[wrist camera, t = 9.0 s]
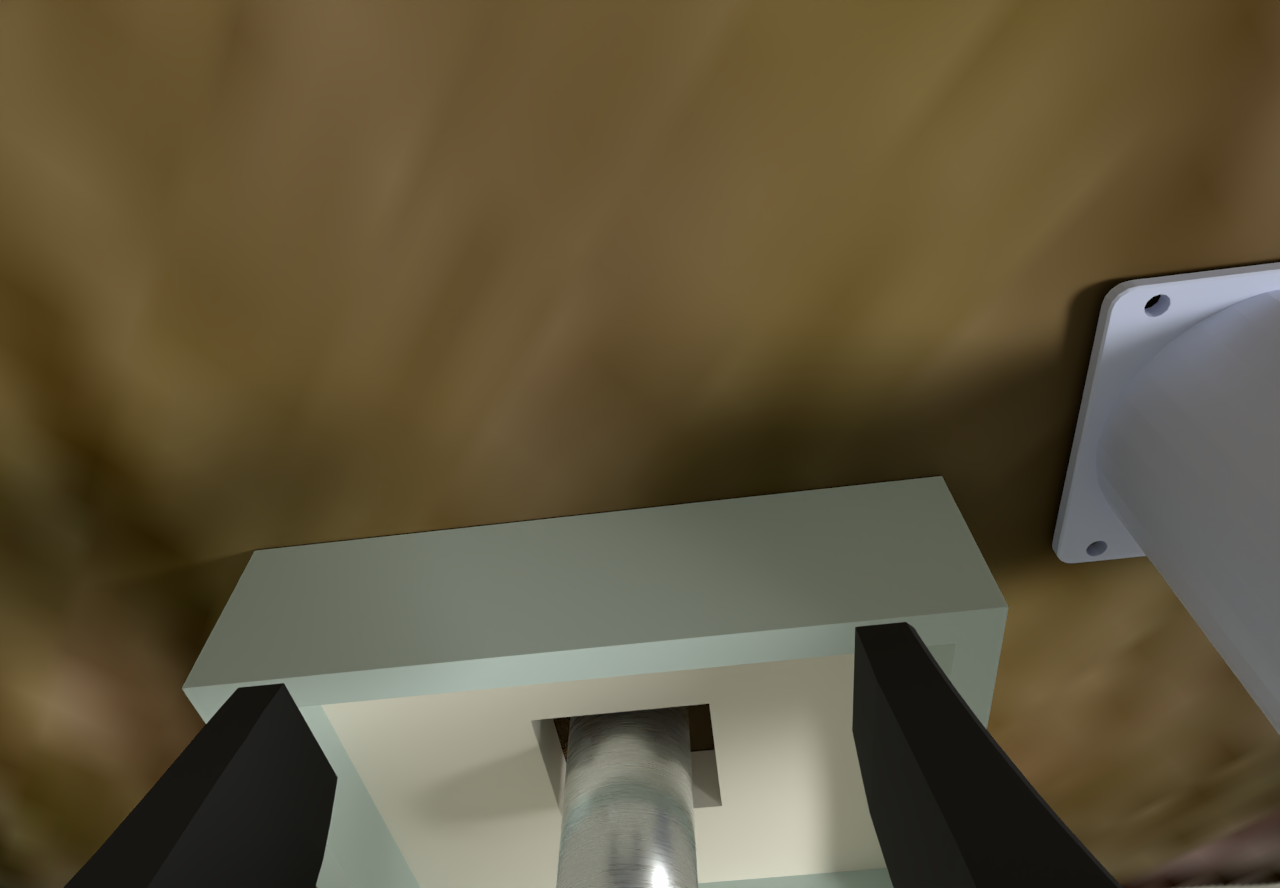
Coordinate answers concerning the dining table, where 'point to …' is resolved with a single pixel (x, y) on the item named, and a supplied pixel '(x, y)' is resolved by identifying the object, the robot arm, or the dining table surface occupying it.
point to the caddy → (606, 673)
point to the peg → (628, 802)
